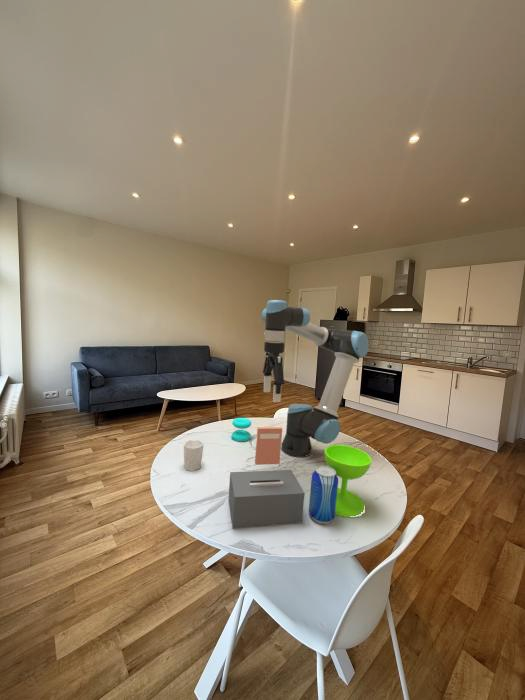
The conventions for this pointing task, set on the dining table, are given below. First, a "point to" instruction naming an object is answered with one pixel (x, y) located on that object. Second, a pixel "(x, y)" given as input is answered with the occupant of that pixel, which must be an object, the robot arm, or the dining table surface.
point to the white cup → (193, 454)
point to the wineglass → (347, 476)
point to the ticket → (268, 445)
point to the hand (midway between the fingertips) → (271, 396)
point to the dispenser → (265, 498)
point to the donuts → (241, 434)
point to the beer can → (323, 494)
